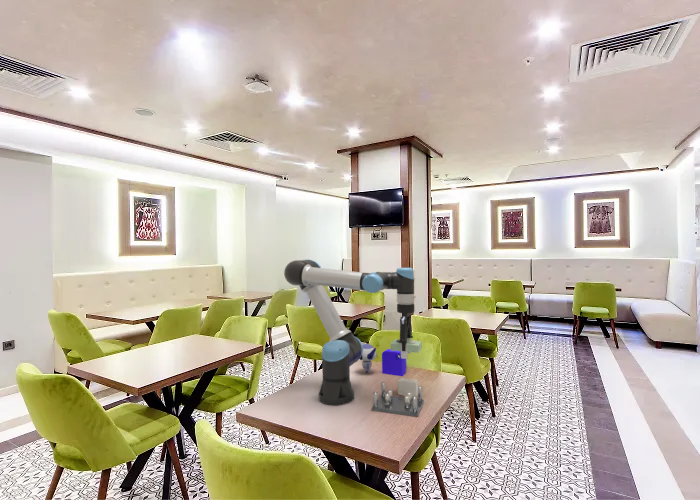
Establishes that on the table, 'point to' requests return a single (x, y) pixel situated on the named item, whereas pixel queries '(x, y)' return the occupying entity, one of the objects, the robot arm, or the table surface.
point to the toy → (368, 356)
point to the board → (411, 345)
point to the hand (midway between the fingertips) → (406, 355)
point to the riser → (407, 387)
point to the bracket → (393, 363)
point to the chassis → (398, 403)
